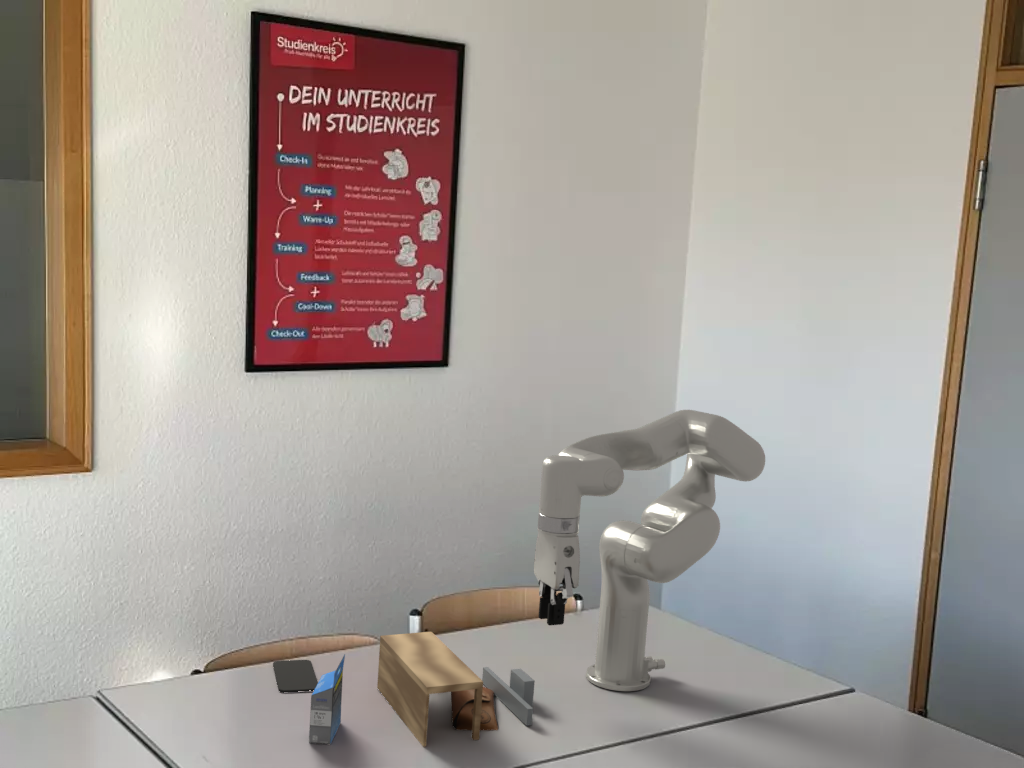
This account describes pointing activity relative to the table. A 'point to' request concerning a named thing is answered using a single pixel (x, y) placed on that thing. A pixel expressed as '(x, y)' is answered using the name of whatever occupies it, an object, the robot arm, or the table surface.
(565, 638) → the table surface
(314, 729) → the blue cardboard box
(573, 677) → the table surface
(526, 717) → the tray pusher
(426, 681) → the oak counter
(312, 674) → the phone
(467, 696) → the sunglasses case
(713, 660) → the table surface
